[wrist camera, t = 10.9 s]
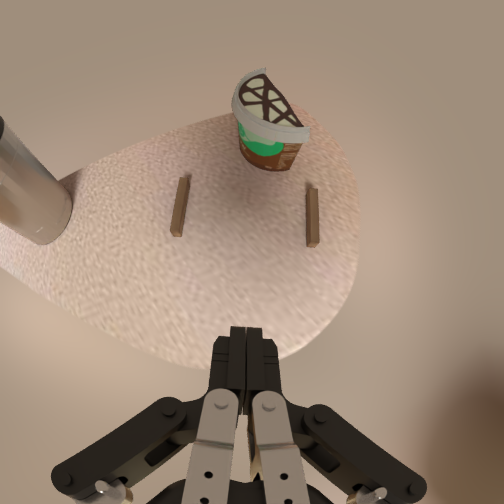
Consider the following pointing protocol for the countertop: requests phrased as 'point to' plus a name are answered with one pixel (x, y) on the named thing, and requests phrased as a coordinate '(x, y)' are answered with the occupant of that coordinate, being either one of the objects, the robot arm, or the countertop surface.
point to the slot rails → (311, 212)
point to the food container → (266, 123)
